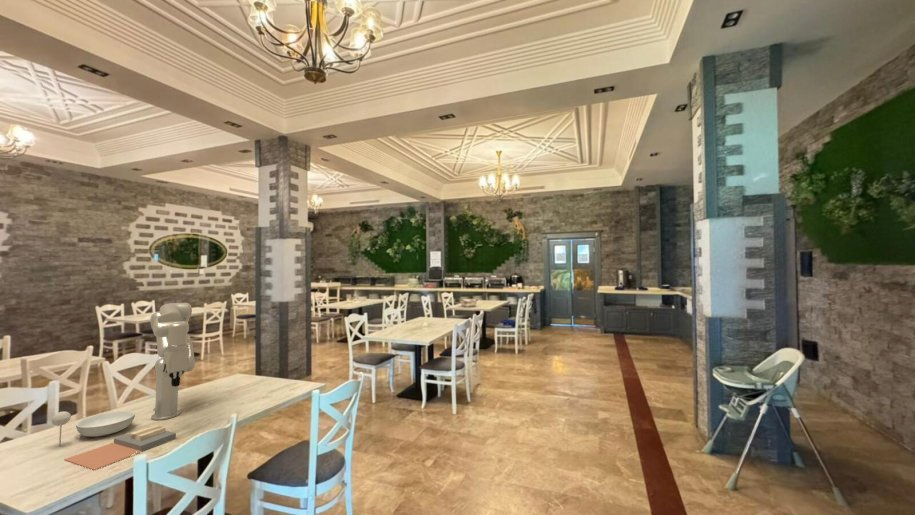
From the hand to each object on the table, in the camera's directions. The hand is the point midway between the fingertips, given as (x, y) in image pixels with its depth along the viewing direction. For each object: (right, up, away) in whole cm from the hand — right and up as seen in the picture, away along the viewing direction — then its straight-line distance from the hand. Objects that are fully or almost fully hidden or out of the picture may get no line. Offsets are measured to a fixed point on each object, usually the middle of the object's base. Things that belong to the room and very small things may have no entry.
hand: (175, 385), depth 180 cm
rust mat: (-10, -21, -26) cm, 35 cm away
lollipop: (-39, -21, -17) cm, 47 cm away
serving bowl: (-32, -22, -3) cm, 39 cm away
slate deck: (-5, -21, -12) cm, 25 cm away
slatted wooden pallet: (-4, -19, -11) cm, 22 cm away
